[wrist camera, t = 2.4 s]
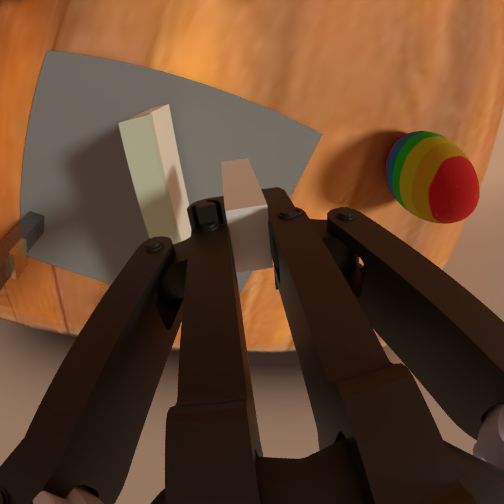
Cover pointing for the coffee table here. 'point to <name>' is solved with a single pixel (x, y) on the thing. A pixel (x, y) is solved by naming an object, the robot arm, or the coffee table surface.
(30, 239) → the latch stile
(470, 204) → the decorative egg
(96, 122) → the mat
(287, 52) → the coffee table surface
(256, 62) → the coffee table surface
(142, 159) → the gate
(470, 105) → the coffee table surface
